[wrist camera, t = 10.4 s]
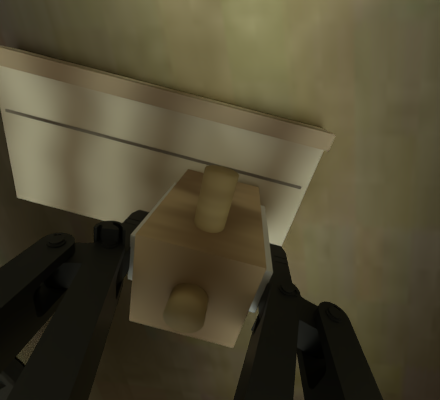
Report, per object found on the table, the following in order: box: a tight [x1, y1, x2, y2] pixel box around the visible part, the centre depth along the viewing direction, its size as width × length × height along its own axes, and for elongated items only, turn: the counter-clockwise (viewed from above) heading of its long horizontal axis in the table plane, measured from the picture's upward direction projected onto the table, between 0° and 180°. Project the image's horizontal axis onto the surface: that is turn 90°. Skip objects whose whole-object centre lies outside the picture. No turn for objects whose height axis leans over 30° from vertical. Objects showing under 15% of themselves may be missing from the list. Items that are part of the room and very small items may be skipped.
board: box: [0, 46, 336, 246], centre depth 17 cm, size 22×11×3 cm, turn 77°
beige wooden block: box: [129, 165, 267, 348], centre depth 12 cm, size 5×8×9 cm, turn 167°
